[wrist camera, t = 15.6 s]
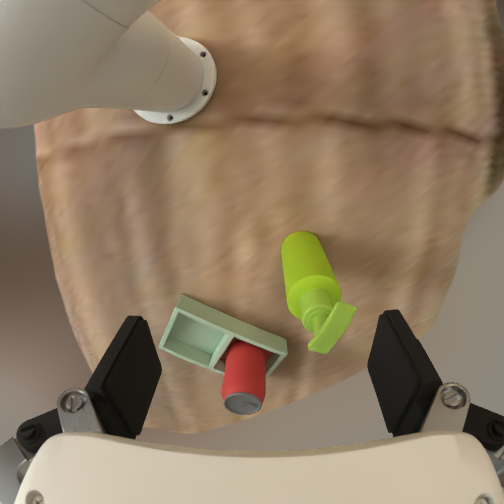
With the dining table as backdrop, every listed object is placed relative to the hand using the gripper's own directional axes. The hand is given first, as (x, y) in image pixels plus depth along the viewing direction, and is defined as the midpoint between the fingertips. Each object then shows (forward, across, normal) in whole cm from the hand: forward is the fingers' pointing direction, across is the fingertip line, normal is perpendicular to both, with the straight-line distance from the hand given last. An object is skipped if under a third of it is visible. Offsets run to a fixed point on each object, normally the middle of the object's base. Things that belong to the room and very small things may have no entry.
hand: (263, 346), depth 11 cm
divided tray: (+30, +8, +26) cm, 40 cm away
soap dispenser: (+31, -5, +9) cm, 32 cm away
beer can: (+30, +4, +28) cm, 41 cm away
